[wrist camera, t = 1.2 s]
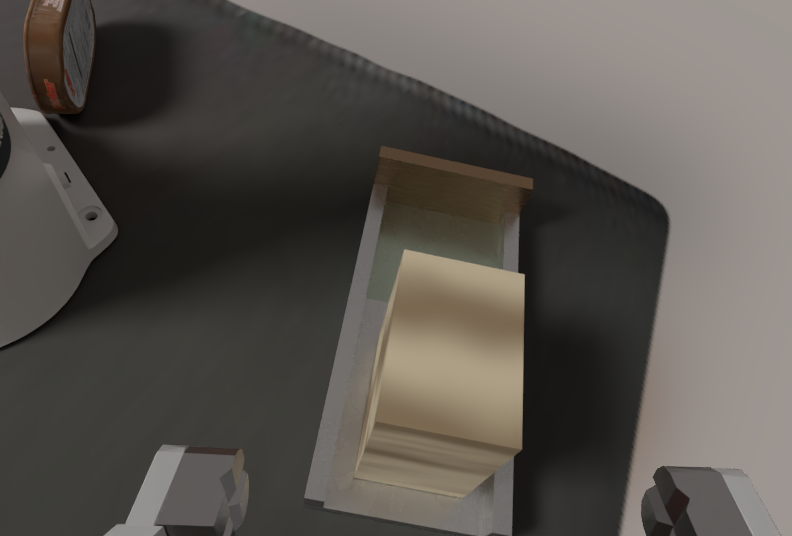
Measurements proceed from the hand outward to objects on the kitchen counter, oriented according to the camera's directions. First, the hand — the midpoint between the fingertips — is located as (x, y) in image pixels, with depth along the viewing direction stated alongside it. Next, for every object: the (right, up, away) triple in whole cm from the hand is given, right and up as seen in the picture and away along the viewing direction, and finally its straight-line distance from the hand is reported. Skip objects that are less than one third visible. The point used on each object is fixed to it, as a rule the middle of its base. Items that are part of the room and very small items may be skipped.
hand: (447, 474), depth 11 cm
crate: (0, -5, +27) cm, 28 cm away
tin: (-30, +21, +41) cm, 55 cm away
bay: (+1, -1, +31) cm, 31 cm away
